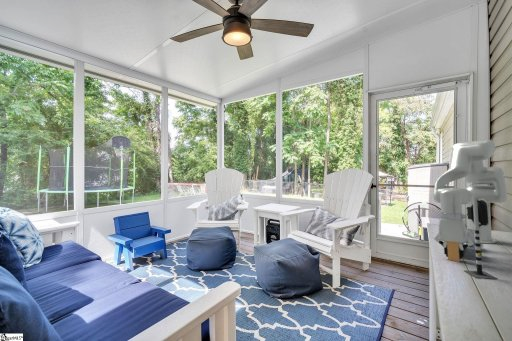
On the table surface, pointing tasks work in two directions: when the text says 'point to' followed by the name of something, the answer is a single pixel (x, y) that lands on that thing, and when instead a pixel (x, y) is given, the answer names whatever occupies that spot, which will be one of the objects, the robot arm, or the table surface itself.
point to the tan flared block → (453, 251)
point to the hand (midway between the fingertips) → (454, 256)
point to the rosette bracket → (470, 251)
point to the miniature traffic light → (478, 215)
